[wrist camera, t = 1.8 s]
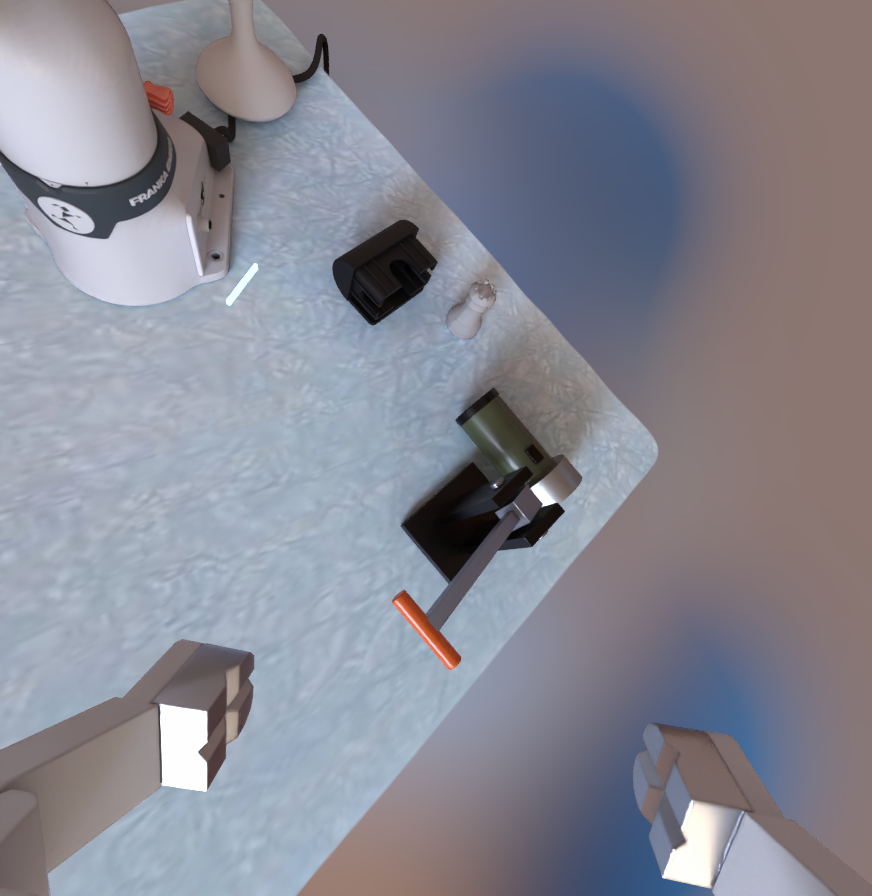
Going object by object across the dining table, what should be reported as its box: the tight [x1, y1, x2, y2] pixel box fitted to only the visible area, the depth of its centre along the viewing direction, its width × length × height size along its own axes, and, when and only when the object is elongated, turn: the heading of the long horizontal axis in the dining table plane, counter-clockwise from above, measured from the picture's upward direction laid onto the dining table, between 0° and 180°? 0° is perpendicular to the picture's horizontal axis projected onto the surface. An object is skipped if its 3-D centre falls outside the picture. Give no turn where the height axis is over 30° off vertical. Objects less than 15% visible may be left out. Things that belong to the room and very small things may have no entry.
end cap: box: [332, 220, 437, 325], centre depth 53 cm, size 10×7×7 cm
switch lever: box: [392, 485, 543, 670], centre depth 34 cm, size 16×6×2 cm, turn 132°
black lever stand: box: [401, 462, 565, 584], centre depth 44 cm, size 11×9×16 cm
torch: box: [455, 388, 582, 507], centre depth 52 cm, size 14×7×7 cm, turn 43°
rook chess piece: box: [446, 279, 497, 339], centre depth 55 cm, size 4×4×8 cm
